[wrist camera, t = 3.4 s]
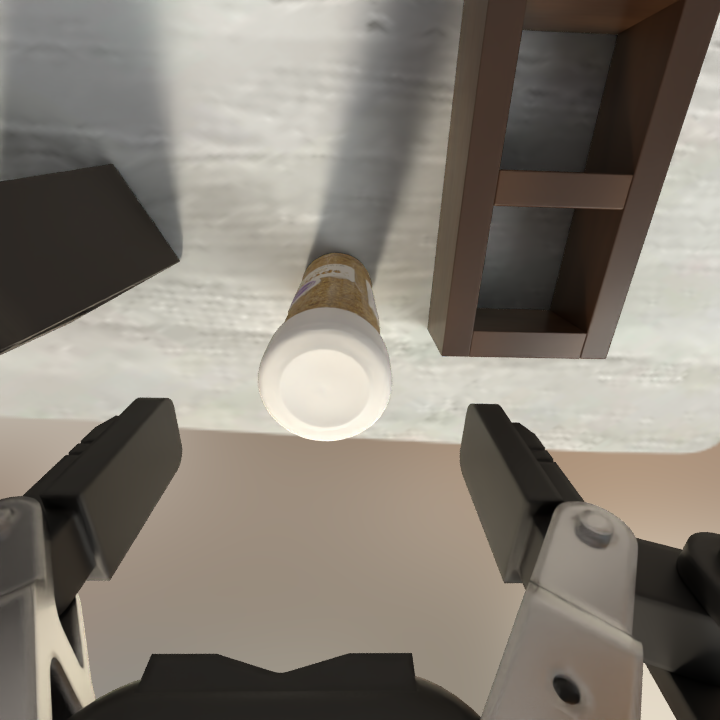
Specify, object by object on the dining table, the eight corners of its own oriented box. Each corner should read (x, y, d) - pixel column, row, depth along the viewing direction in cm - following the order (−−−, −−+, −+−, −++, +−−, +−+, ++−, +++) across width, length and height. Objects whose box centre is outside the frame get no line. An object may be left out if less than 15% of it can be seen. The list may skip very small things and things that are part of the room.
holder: (427, 329, 26) (441, 356, 22) (465, -15, 19) (497, -70, 15) (566, 332, 26) (606, 359, 22) (658, -4, 19) (742, -56, 15)
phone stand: (70, 322, 25) (-140, 427, 14) (-3, 238, 23) (-320, 287, 12) (182, 260, 24) (42, 326, 13) (116, 163, 22) (-123, 144, 11)
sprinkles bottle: (321, 238, 23) (291, 298, 11) (385, 274, 25) (421, 365, 12) (289, 301, 25) (233, 413, 13) (350, 333, 26) (352, 464, 14)
